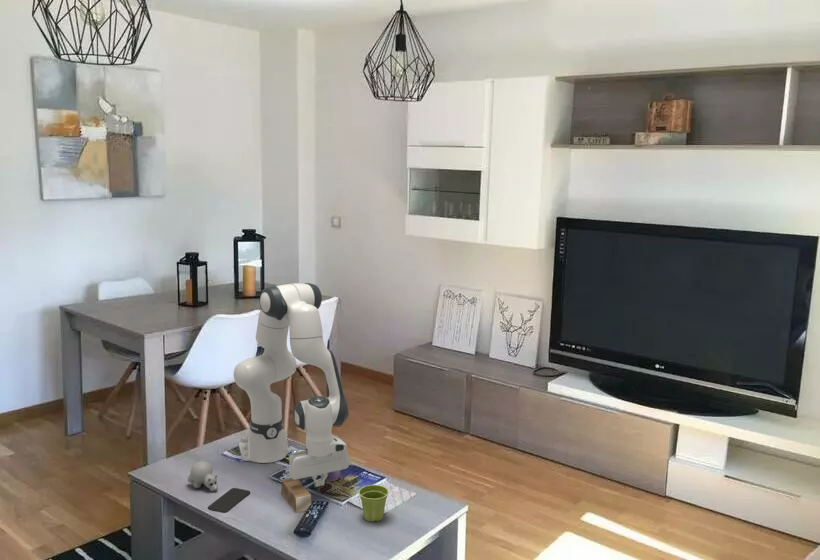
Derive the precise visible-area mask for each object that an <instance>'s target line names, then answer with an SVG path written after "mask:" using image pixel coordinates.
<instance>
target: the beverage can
mask: <svg viewBox="0 0 820 560" xmlns="http://www.w3.org/2000/svg"><path fill="white" fill-rule="evenodd" d="M332 436H333V437H336V438H339V439H340V436H339V435H337V434H332ZM340 477H341V470H338V471H333V472H329V473H328V476H327V477H326V479H325V481H327V482H335V481H338V480H339V479H340Z"/></svg>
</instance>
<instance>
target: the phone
mask: <svg viewBox="0 0 820 560" xmlns="http://www.w3.org/2000/svg"><path fill="white" fill-rule="evenodd" d="M249 495H251V491H250V490H247V489H241V488H237V487H232V488H229V490H227V491H226V492H225V493H224V494H222V495H221V496H220V497H218V498H217V499H216V500H215V501H213V502H212V503H211V504H210V505H208V506H207V510H208V509H209V511H214V512H217V513H224V514H227V513H228V512H229V511H231V510H232V509H234V507H236V506H237V505H238V504H239V503H240V502H242V501H244V499H246V498H247V497H248V496H249Z"/></svg>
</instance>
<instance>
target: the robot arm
mask: <svg viewBox="0 0 820 560" xmlns="http://www.w3.org/2000/svg"><path fill="white" fill-rule="evenodd" d="M322 295H323V294H322V292H321V290H320V288H319V287H318V285H316V284H314V283H309V282H305V283H297V282H296V283H295V282H293V283H287V284H281V285H271V286H268V287H266V288H263V289H262V291H261V293H260V295H259V308H260V310H259V315H258V320H257V327H256V332H255V340H256V342H257V344H258V345H259V346H260V347H261V348H263V349H264V350H263V353H262V354H260V355H258V356H253V357H249V358H247V359H245V360H242V361H241V362H239V363H238V364H236V365H235V366H234V369H233V379H234V382H235V384H236V385H237V386H238V388H240V389H242V390H243V391H245V392H246V394H247V396H248V398H249V401H250V402H249V403H250V414H251V415H250V416H251V418H250V422H249V428H248V429H247V430H246V431H245V433H244V436H241V441H240V442H239V444H238V447H239V452H240V456H241V459H242V461H244V462H245V461H246V462H247V461H248V462H253V463H260V464H261V463H262V464H270V463H274V462H275V463H276V462H278V461H281V460H283V459H284V458H286V456H287V455H288V454H289V453H290V454H289V456H288V463H289V465H288V476H289V477H290V478H292V479H293V480H297V479H298V480H300V479H301V480H302V479H305V478H310V477H311V479H312V480H313V484H314V485H313V486H314V487H315V488H318V487H322V486H325V481H326V480H325V479H326V477H327V476H328V473H329V472H333V471H338V470H340V471H342V470H346V469H348V467H349V465H350V456H349V452H348V450H347V448H348V447H347V443H346V442H344V441H343V440H342V439H341V438H340V437H339V438H336V437H333V436H332V435H333V432H332V429H333V427H336V426H337V427H340V426H342V425H343V424H344V423H345V422H346V421H347V419H348V418H349V416H350V415H349V407H348V402H347V400H346V396H345V394H344V389H343V385H342V381H341V376H340V372H339V367H338V365H337V364H338V363H337V361H336V357H335V355H334V352H333V351H332V350H330V349H328V348H327V346H326V344H325V341H324V336H323V333H324V332H323V325H322V324H323V323H322V321H321V315H320V311H319V309H320V307H321V306H322V305H321V304H322V302H323V298H322V297H323V296H322ZM288 334H289V335H288ZM288 336H289V346H290V350H291V352H290V351H289V349H288ZM297 361H299V362H301V363H304V364H306V365H310V366H314V367H317V368H320V369H321V370H322V371H323V373H324V375H325V379H326V383H327V386H328V387H327V388H328V391H329V392H328V393H329V396H323V395H314V396H311V397H309V398H308V399H305V400H300V401H298V402H297V403H296V405H295V406H294V408H293V420H294V424H295V426H297V427H298V428H299V429H301V430H302V431H305V434H306V436H305V448H302V449H299V450H294V451H292V447H290V446H289V445H288V434H287V433H288V432H287V431H286V430H285V429H284V418H283V417H282V411H283V409H282V399H281V397H280V396H279V395H278V394H277V393H275V392H272V389H271V384H274V383H277V382H280V381H283V380H285V379H287V378H290V377H291V376H293V374H295V372H296V371H297ZM319 475H321V477H320V478H319V479H317V478H318V476H319Z"/></svg>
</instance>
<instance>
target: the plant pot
mask: <svg viewBox="0 0 820 560" xmlns="http://www.w3.org/2000/svg"><path fill="white" fill-rule="evenodd" d="M389 492H390V491H389V489H388V488H387V487H385V486H384V485H380V484H368V485H365V486H362V487H360V488H359V490H358V496H359V498H360V500H361V507H362V514H363V518H364V520H365V521H368V522H372V523H373V522H376V521H377V522H380V521H381V520H382V519H384V514H385V508H386V507H385V506H386V501H387V498H388V495H389Z"/></svg>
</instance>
